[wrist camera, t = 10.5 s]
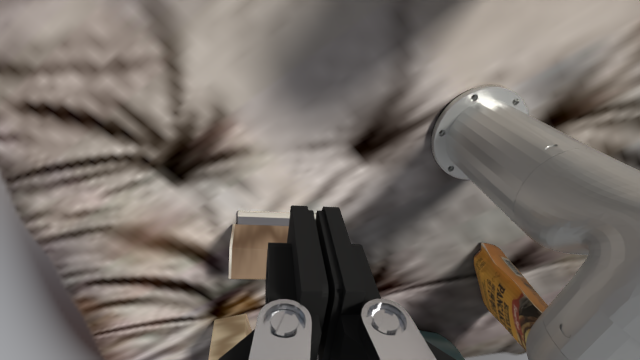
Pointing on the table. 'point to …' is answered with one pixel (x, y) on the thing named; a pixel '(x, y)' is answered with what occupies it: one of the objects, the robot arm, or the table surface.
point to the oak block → (228, 334)
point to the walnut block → (252, 249)
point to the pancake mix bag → (507, 292)
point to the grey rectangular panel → (264, 218)
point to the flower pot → (442, 344)
